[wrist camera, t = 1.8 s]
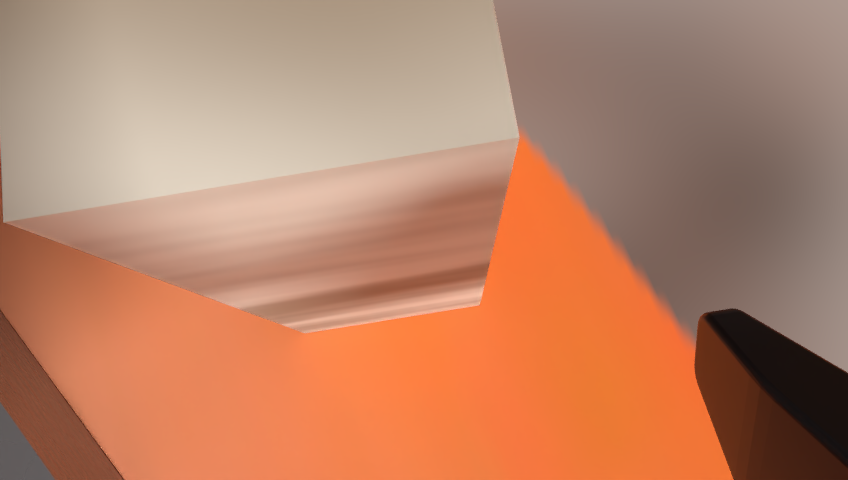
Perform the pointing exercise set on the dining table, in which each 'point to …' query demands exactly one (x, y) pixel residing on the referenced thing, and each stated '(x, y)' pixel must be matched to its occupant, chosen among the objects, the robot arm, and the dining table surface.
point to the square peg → (265, 147)
